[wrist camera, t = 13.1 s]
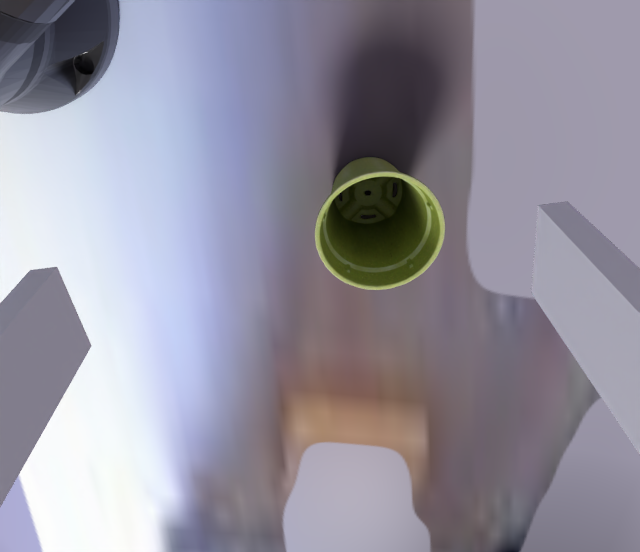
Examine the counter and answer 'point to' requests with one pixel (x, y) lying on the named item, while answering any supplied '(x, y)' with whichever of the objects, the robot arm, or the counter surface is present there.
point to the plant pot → (378, 226)
